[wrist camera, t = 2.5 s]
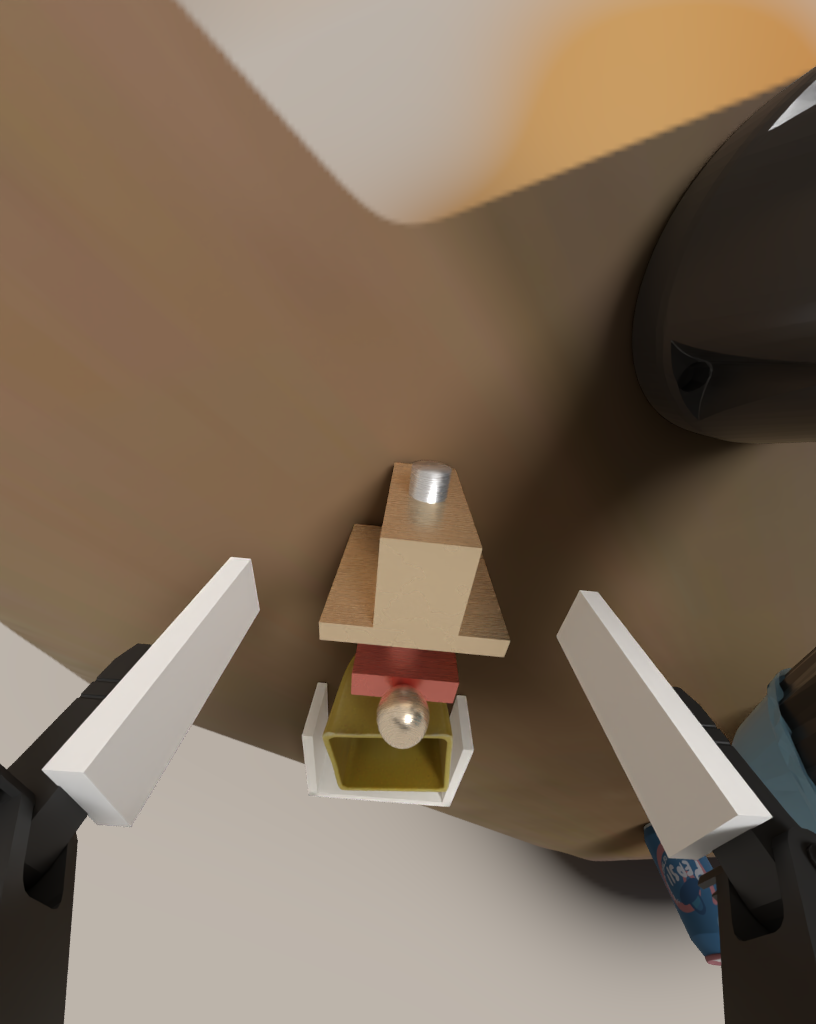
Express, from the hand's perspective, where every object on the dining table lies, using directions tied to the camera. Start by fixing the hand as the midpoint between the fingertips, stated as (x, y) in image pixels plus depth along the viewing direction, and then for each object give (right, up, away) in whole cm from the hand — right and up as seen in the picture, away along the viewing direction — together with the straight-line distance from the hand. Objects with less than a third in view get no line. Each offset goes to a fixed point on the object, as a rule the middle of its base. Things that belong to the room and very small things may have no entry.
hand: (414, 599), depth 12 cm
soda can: (+40, -47, +35) cm, 71 cm away
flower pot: (-1, -10, +17) cm, 20 cm away
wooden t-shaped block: (0, +2, +10) cm, 10 cm away
